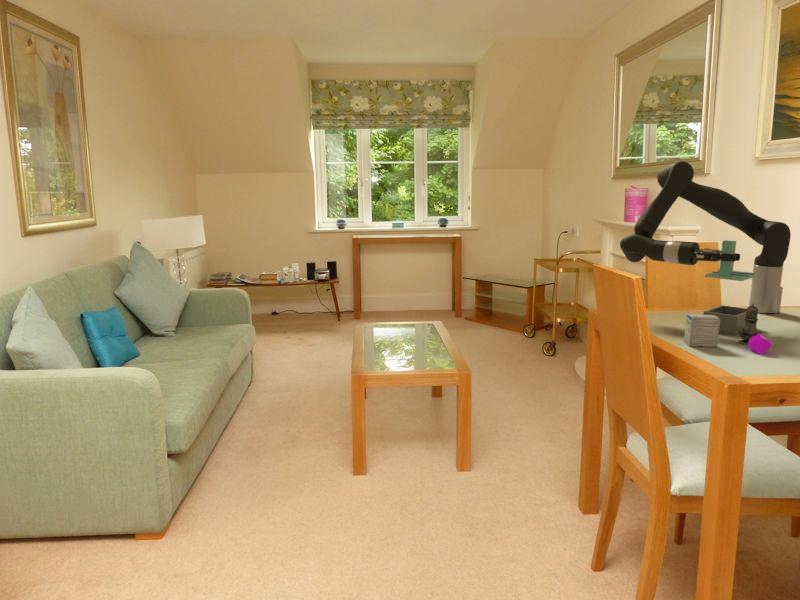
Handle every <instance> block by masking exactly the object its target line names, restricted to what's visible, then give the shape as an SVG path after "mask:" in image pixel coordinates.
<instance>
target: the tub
mask: <svg viewBox="0 0 800 600" xmlns="http://www.w3.org/2000/svg"><path fill="white" fill-rule="evenodd" d="M746 311H747V308H745V307H738V306H737V307H736V306H730V305H724V304H723V305H718V306H716V307H713V308H710V309H707V310H704V311H703V314H702V315H714V316H716V317H718V318H719V319H720V325H719V334H724V335H730V336H737V335H739V331H738V330H739V329H743V327H744V325H745V319H744V318H745V317H746Z"/></svg>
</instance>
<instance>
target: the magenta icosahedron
mask: <svg viewBox="0 0 800 600" xmlns="http://www.w3.org/2000/svg"><path fill="white" fill-rule="evenodd" d="M747 346H748V348H749V349H750V350H751V351H752V352H753V351H754V352H755V353H757V354H759V355H763V354H765V353H766V352H767V351H769V349H771V348H772V347H773V346H772V343H771V341H770V340H769V339H767V338H766V337H765V336H764V335H762V334H757V335H755V336H753V337H752V338H750V339H749V342H748V345H747Z"/></svg>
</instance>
